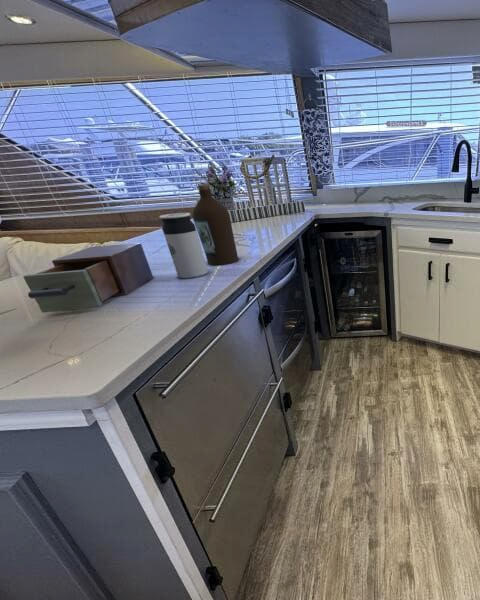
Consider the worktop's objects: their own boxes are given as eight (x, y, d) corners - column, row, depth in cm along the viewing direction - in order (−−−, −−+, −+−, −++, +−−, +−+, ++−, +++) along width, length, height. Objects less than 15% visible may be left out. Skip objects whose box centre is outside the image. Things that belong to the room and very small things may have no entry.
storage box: (126, 294, 84) (110, 255, 80) (71, 300, 82) (51, 260, 78) (153, 277, 97) (140, 242, 93) (106, 281, 95) (91, 246, 91)
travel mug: (205, 268, 103) (188, 211, 96) (210, 274, 98) (193, 214, 91) (176, 274, 99) (156, 215, 92) (180, 280, 93) (159, 218, 86)
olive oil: (228, 255, 118) (209, 183, 108) (246, 259, 113) (229, 183, 103) (199, 263, 109) (176, 186, 99) (218, 267, 104) (196, 186, 94)
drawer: (86, 314, 71) (69, 277, 68) (26, 321, 69) (4, 282, 66) (130, 286, 87) (118, 255, 84) (82, 291, 85) (67, 259, 82)
